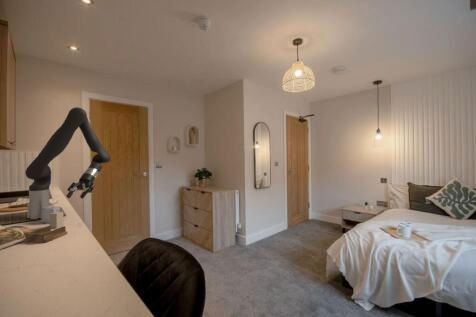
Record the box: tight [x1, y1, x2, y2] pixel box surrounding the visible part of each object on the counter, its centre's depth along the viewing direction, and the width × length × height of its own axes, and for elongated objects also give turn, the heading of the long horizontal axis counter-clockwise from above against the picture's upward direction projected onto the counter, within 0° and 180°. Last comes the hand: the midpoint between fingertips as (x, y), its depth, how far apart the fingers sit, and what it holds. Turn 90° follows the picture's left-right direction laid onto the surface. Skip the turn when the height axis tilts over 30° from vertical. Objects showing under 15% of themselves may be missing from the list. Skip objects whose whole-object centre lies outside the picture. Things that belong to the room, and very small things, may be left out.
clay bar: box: [49, 211, 64, 230], centre depth 117 cm, size 4×4×8 cm
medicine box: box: [41, 205, 61, 224], centre depth 126 cm, size 8×4×9 cm, turn 84°
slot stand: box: [23, 225, 68, 244], centre depth 103 cm, size 11×11×4 cm
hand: (74, 197), depth 128 cm, fingers open, 8 cm apart
